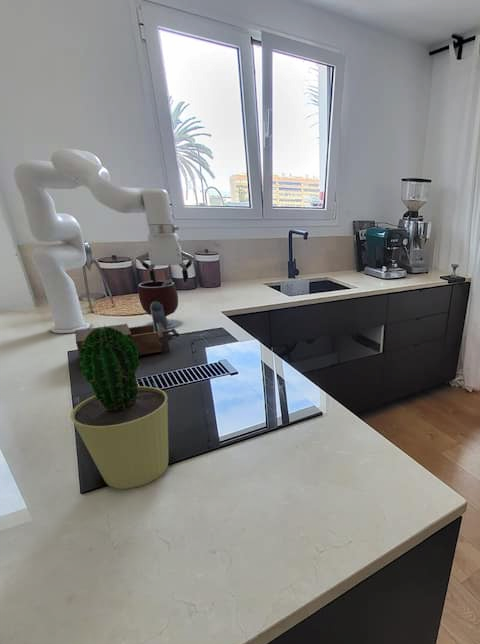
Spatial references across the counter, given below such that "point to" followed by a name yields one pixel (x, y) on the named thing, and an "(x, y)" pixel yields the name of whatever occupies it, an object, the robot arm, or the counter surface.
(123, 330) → the cabinet
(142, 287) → the mate gourd
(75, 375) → the counter surface
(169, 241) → the robot arm
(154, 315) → the bottle opener
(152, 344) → the drawer
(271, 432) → the counter surface
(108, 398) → the potted cactus
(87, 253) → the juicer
